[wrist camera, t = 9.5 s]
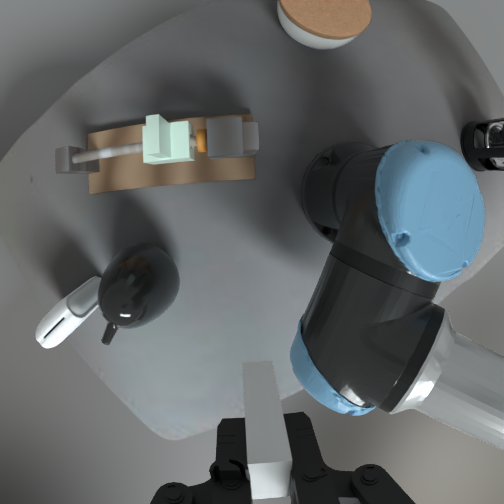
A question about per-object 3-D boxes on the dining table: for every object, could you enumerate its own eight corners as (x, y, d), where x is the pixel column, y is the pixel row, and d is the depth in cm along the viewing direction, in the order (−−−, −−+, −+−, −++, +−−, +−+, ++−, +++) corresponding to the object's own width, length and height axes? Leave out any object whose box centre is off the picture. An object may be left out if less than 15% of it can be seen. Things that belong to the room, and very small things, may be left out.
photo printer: (79, 323, 45) (44, 359, 33) (63, 304, 44) (25, 335, 32) (115, 291, 44) (80, 325, 32) (98, 270, 43) (59, 298, 31)
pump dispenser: (110, 284, 43) (64, 326, 29) (135, 225, 42) (88, 247, 27) (166, 315, 45) (140, 371, 30) (195, 258, 43) (176, 297, 28)
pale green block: (193, 127, 33) (179, 109, 24) (194, 160, 33) (180, 152, 25) (152, 132, 32) (126, 117, 24) (153, 164, 33) (127, 159, 24)
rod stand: (251, 116, 39) (256, 94, 28) (254, 179, 41) (261, 177, 30) (91, 135, 38) (53, 124, 27) (93, 193, 40) (55, 198, 29)
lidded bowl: (261, 3, 35) (268, -37, 24) (334, -3, 35) (355, -38, 24) (285, 66, 38) (299, 33, 27) (360, 57, 37) (391, 30, 27)
